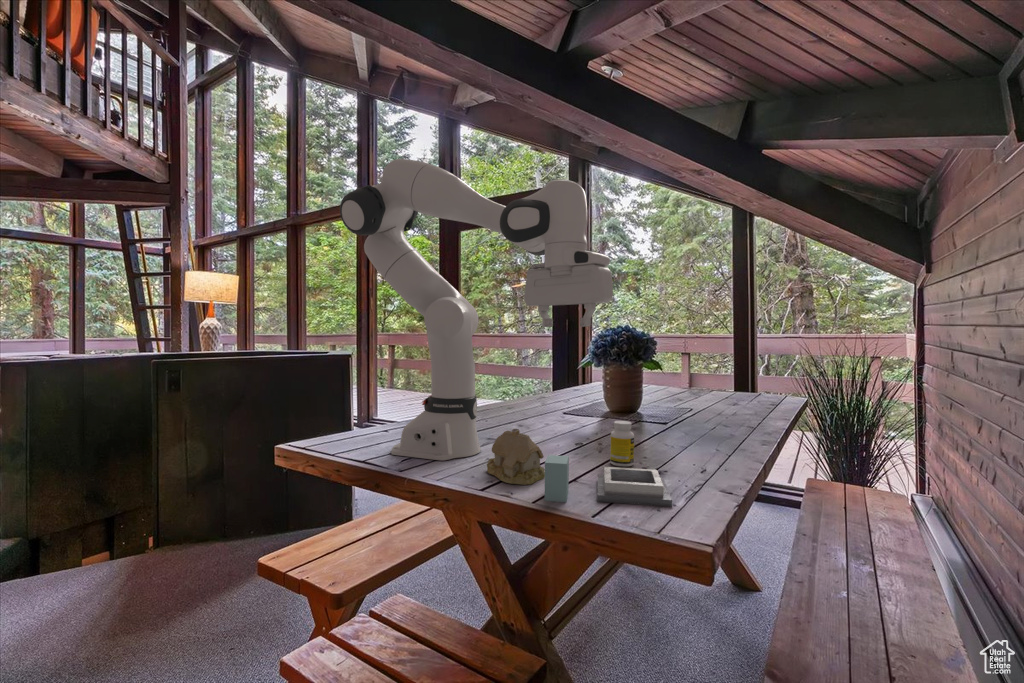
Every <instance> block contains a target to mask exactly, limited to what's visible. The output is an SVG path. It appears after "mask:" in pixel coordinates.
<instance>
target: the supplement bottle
mask: <svg viewBox="0 0 1024 683" xmlns="http://www.w3.org/2000/svg"><path fill="white" fill-rule="evenodd" d="M613 428H614V430H613V431H612V430H611V432H610V451H609V454H610V455H609V463H610V464H612V465H613V466H614V467H615V466H616V467H621V468H629V467H631V466H633V465H634V464H635V463H634V459H635V434H634V432H633V431H631V429H632V422H631V421H626V420H616V421H614V422H613Z"/></svg>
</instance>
